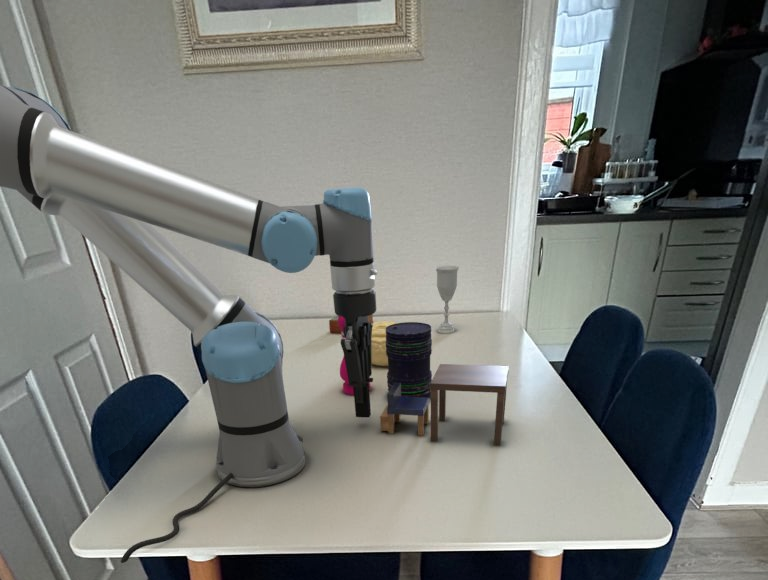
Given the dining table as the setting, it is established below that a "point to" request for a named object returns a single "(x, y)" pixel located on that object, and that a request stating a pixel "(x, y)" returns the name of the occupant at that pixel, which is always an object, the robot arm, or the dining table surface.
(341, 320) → the pepper mill
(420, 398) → the blue toy chair
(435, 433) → the little table
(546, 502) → the dining table surface
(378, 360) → the sculpture
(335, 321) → the carton
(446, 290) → the chalice
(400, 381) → the dark blue barrel
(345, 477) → the dining table surface
